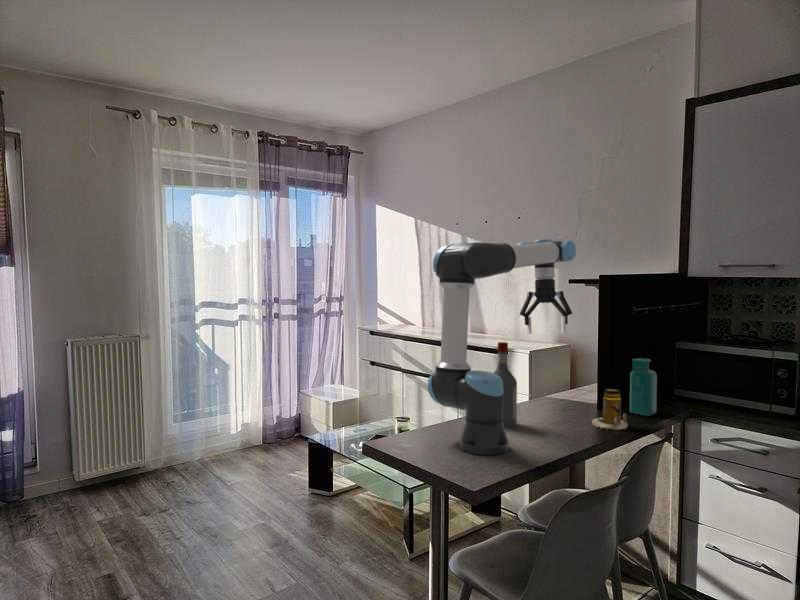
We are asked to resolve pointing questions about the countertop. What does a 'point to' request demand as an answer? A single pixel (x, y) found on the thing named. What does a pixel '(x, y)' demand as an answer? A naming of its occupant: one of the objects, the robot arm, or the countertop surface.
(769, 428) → the countertop surface
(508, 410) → the liquor
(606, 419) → the condiment
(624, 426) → the flange base
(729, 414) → the countertop surface
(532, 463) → the countertop surface
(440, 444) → the countertop surface
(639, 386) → the teal bottle
